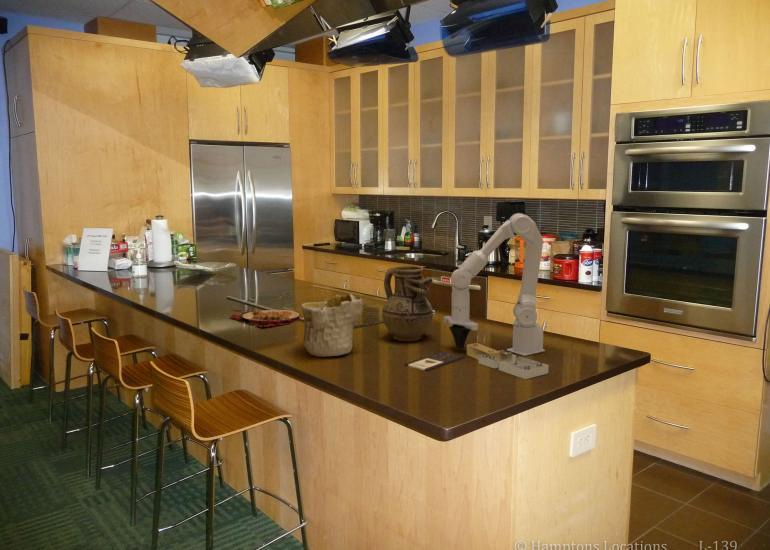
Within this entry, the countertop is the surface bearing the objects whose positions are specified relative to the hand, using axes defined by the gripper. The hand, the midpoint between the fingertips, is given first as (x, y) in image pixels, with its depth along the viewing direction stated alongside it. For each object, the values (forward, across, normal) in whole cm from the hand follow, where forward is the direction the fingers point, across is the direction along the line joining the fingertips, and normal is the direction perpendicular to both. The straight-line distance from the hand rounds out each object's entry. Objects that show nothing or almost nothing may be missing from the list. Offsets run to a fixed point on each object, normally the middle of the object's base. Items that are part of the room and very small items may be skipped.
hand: (460, 348), depth 202 cm
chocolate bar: (+2, +5, -14) cm, 15 cm away
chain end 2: (+1, +27, 0) cm, 27 cm away
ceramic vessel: (+1, -25, -35) cm, 43 cm away
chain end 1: (+1, +17, 0) cm, 17 cm away
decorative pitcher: (+1, -23, -4) cm, 24 cm away
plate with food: (+2, -81, -29) cm, 86 cm away
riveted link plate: (+1, +11, 0) cm, 11 cm away
